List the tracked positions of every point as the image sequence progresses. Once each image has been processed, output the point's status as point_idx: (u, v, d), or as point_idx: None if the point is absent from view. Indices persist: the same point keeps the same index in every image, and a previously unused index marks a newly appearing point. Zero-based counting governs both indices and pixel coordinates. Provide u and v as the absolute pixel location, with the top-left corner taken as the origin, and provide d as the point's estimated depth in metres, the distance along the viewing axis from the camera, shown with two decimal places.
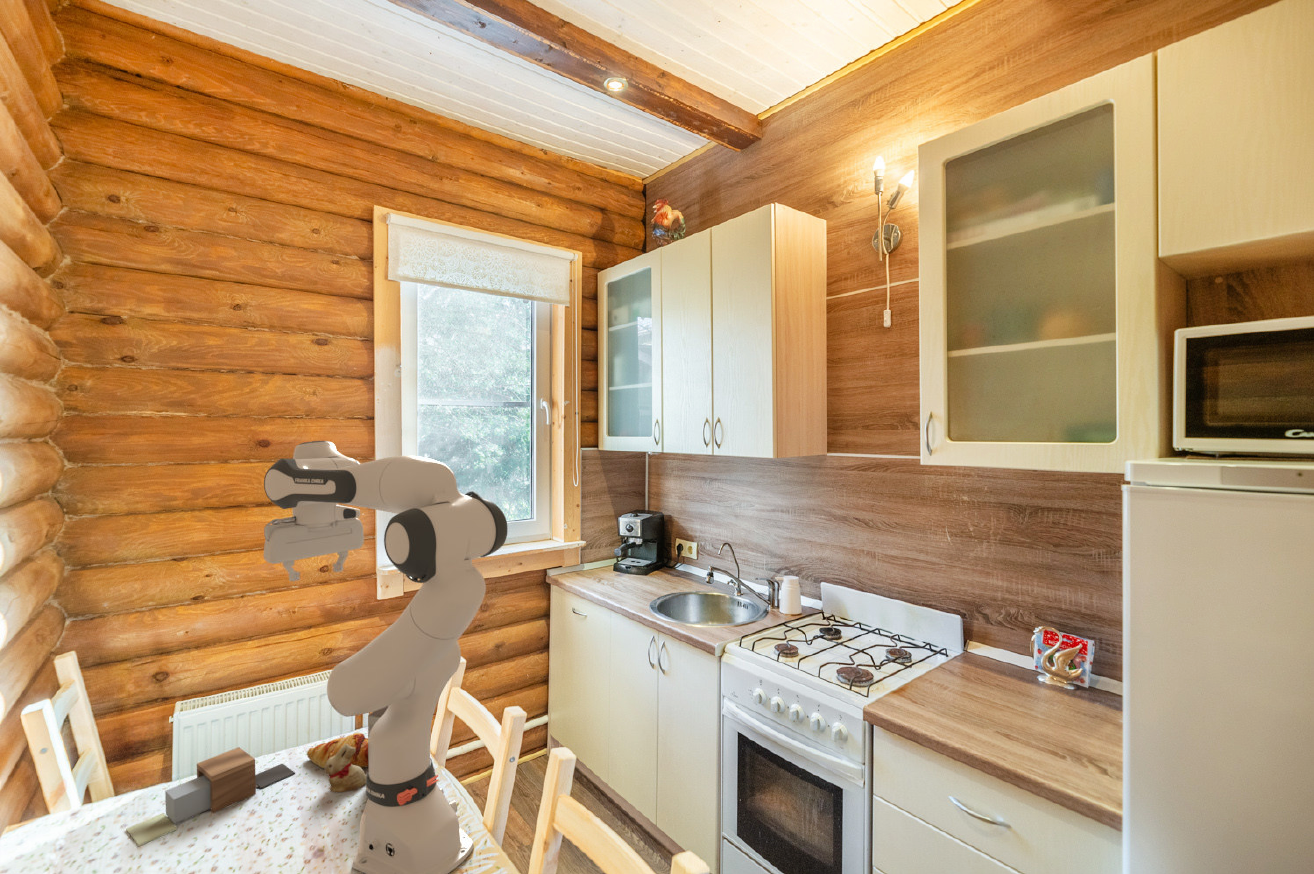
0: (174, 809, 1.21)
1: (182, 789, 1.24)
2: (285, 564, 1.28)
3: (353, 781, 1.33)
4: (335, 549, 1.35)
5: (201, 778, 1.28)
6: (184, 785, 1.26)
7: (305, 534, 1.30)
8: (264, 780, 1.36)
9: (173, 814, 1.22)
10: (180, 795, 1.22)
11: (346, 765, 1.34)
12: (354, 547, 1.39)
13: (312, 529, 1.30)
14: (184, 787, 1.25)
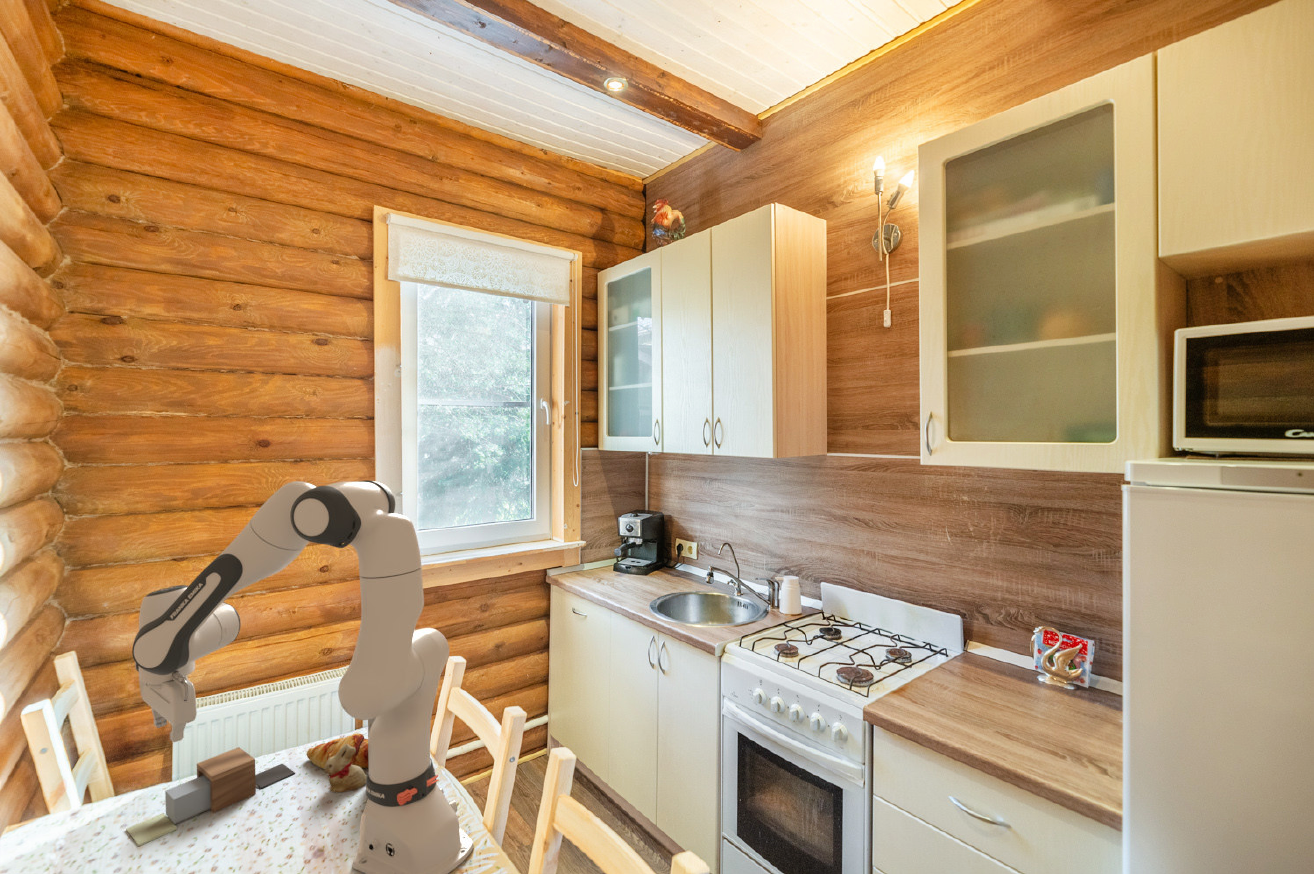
0: (174, 809, 1.21)
1: (182, 789, 1.24)
2: None
3: (353, 781, 1.33)
4: None
5: (201, 778, 1.28)
6: (184, 785, 1.26)
7: None
8: (264, 780, 1.36)
9: (173, 814, 1.22)
10: (180, 795, 1.22)
11: (346, 765, 1.34)
12: None
13: (186, 678, 1.23)
14: (184, 787, 1.25)
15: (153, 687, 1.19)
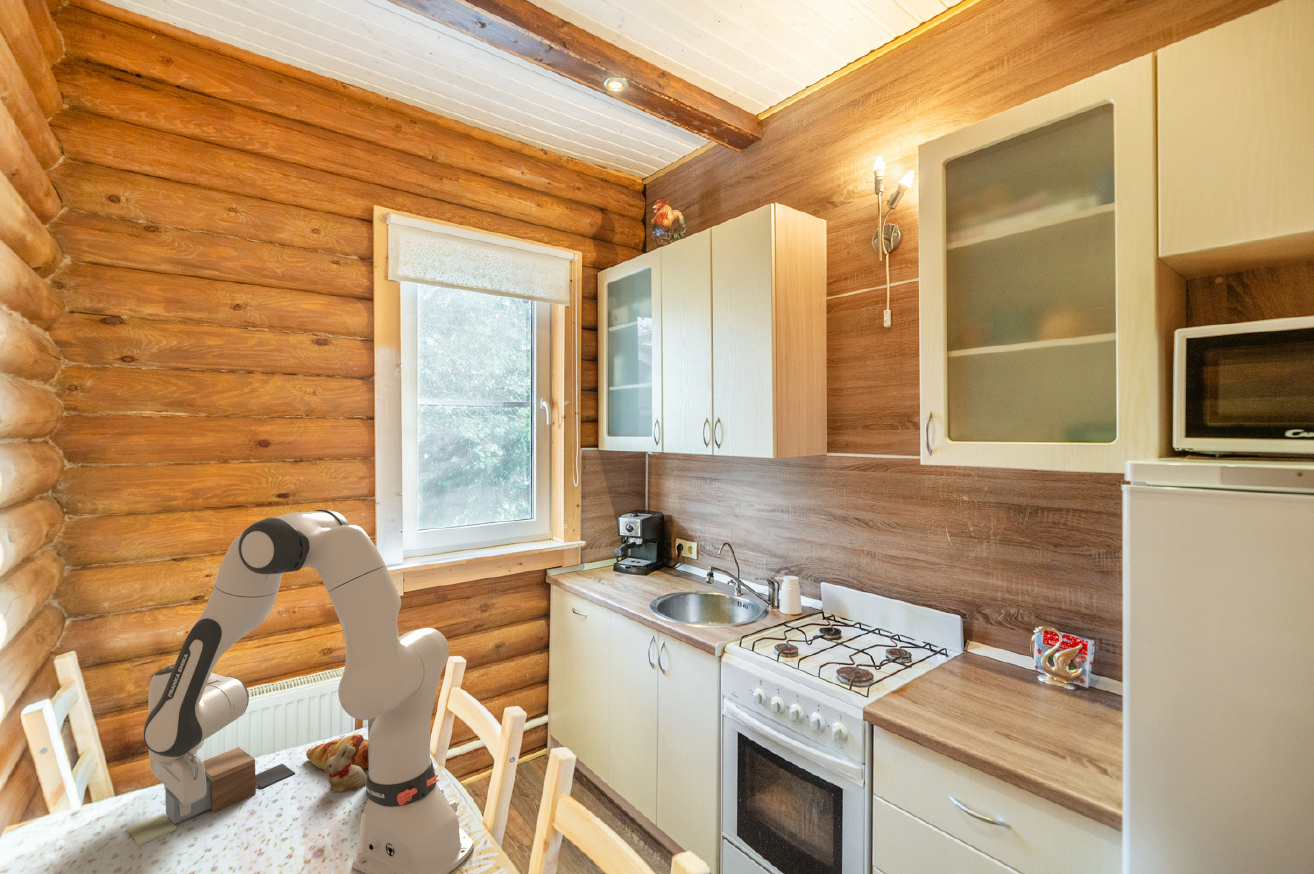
0: (174, 809, 1.21)
1: None
2: None
3: (353, 781, 1.33)
4: None
5: None
6: None
7: None
8: (264, 780, 1.36)
9: (173, 814, 1.22)
10: None
11: (346, 765, 1.34)
12: None
13: (195, 753, 1.25)
14: None
15: (163, 765, 1.21)
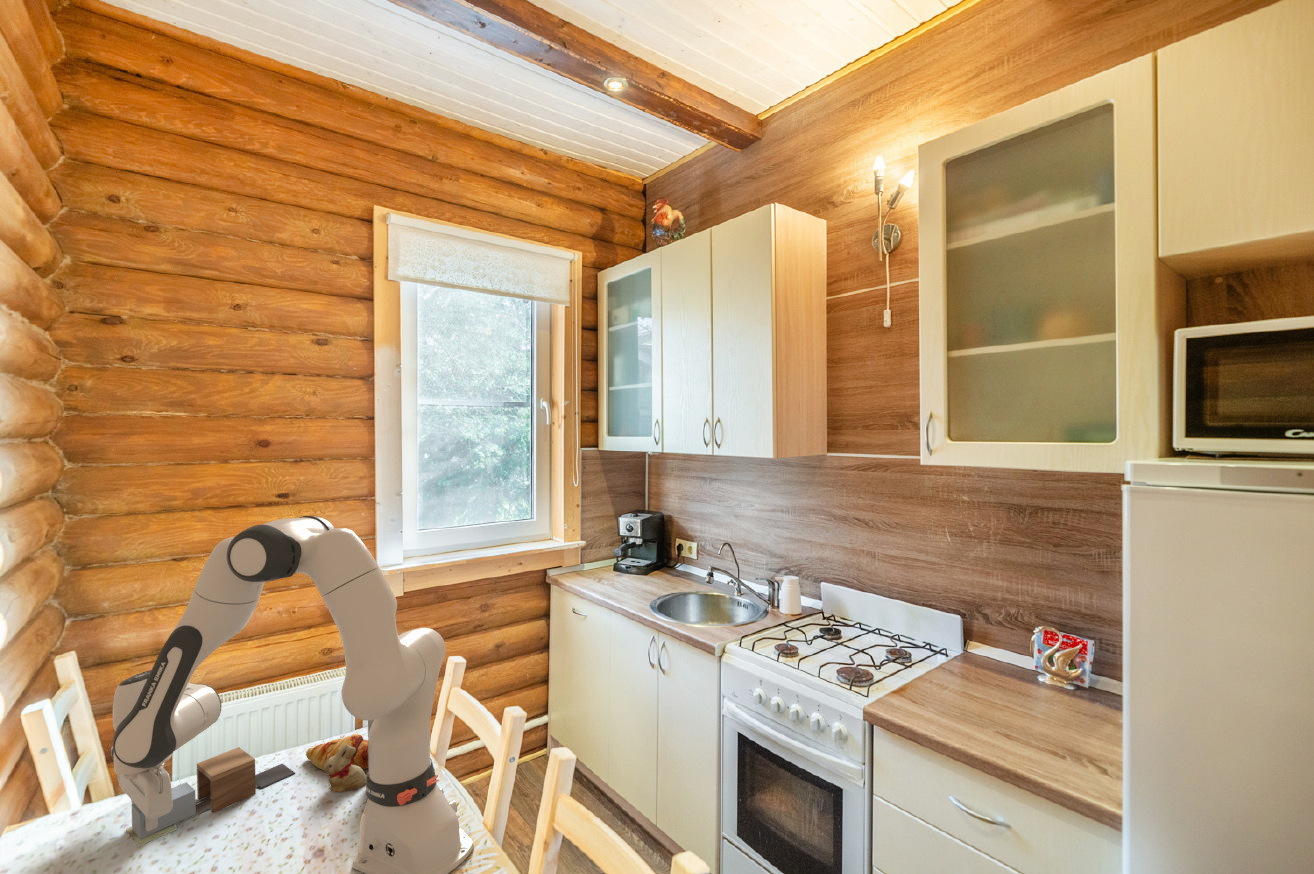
0: (140, 824, 1.17)
1: None
2: None
3: (353, 781, 1.33)
4: None
5: None
6: None
7: None
8: (264, 780, 1.36)
9: (139, 829, 1.17)
10: None
11: (346, 765, 1.34)
12: None
13: (162, 765, 1.20)
14: None
15: (128, 778, 1.16)
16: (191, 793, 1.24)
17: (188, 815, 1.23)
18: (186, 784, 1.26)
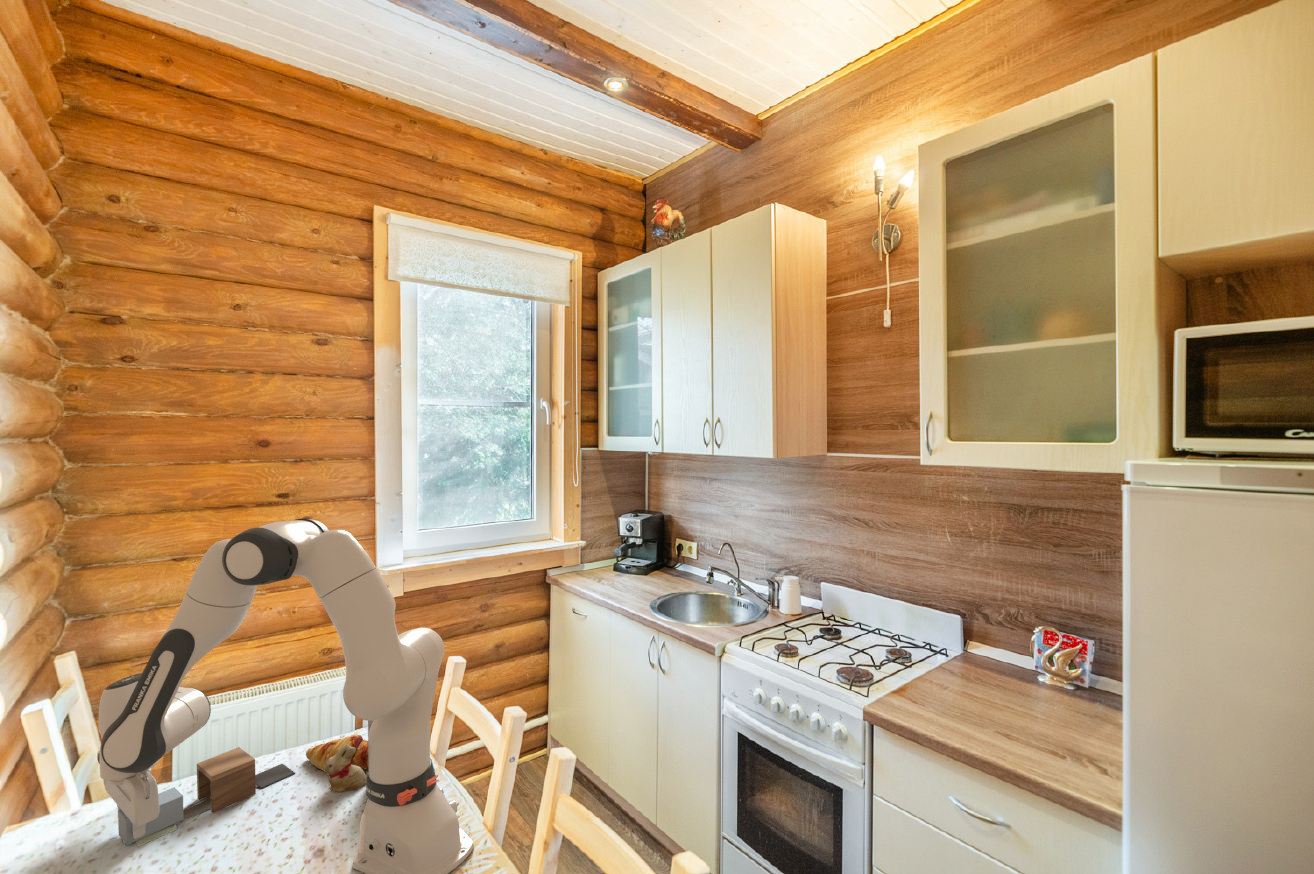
0: (126, 830, 1.15)
1: None
2: None
3: (353, 781, 1.33)
4: None
5: None
6: None
7: None
8: (264, 780, 1.36)
9: (125, 835, 1.16)
10: None
11: (346, 766, 1.34)
12: None
13: (149, 770, 1.19)
14: None
15: (114, 783, 1.15)
16: (179, 798, 1.22)
17: (176, 820, 1.22)
18: (174, 789, 1.25)
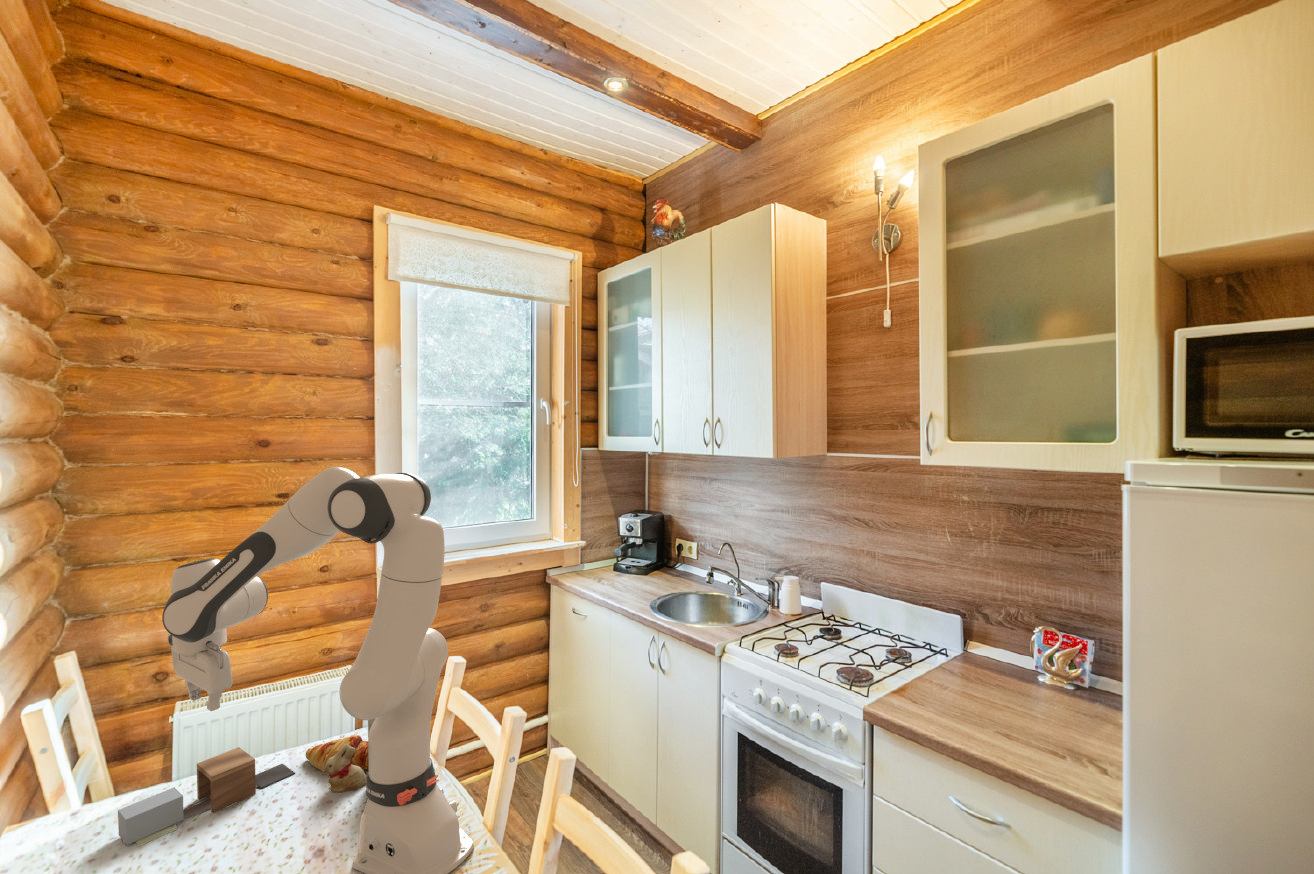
0: (126, 830, 1.15)
1: (136, 808, 1.18)
2: None
3: (353, 781, 1.33)
4: None
5: (157, 796, 1.22)
6: (138, 804, 1.20)
7: None
8: (264, 780, 1.36)
9: (125, 835, 1.16)
10: (133, 815, 1.16)
11: (346, 766, 1.34)
12: None
13: None
14: (138, 806, 1.19)
15: (188, 658, 1.21)
16: (179, 798, 1.22)
17: (176, 820, 1.22)
18: (174, 789, 1.25)
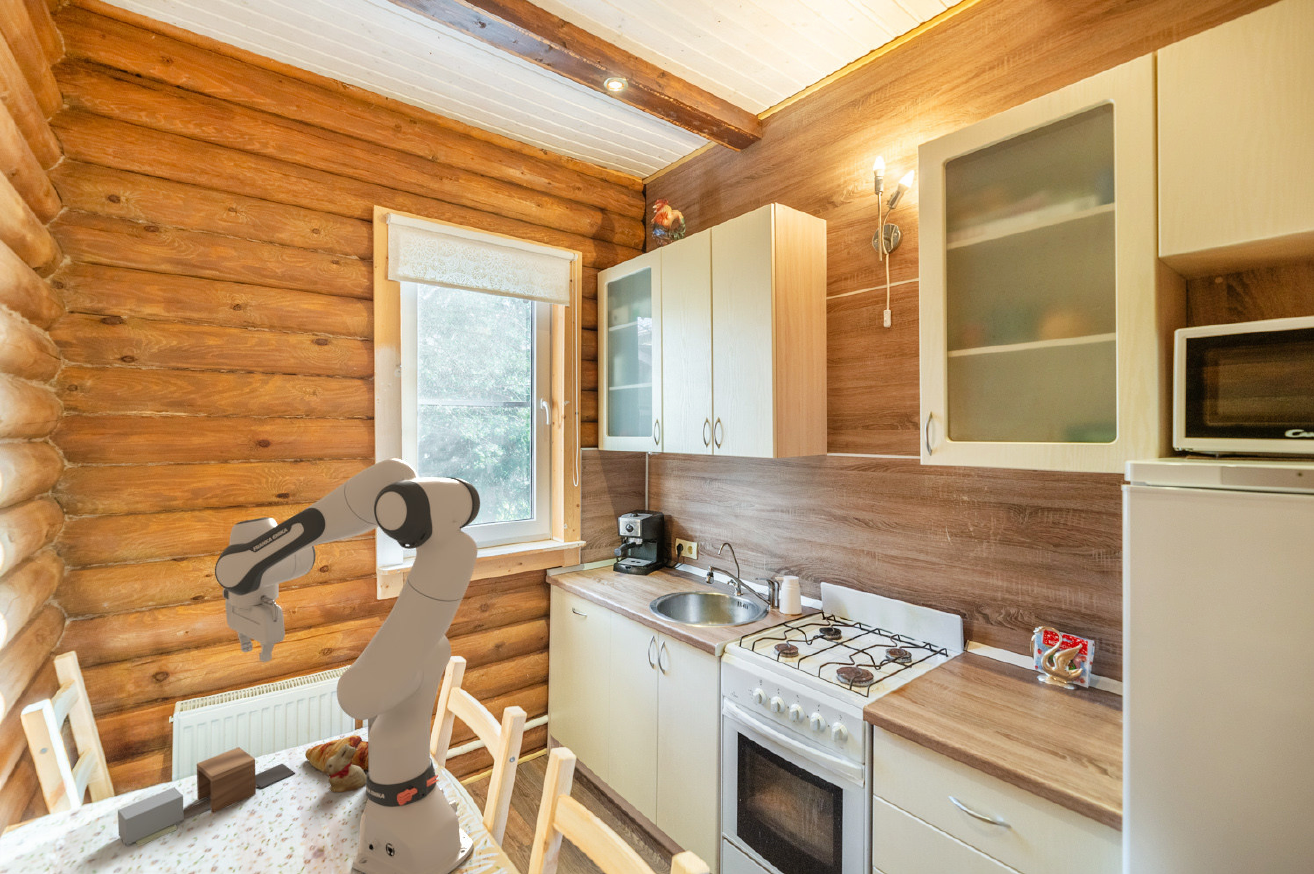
0: (126, 830, 1.15)
1: (136, 808, 1.18)
2: (270, 643, 1.26)
3: (353, 781, 1.33)
4: None
5: (157, 796, 1.22)
6: (138, 804, 1.20)
7: None
8: (264, 780, 1.36)
9: (125, 835, 1.16)
10: (133, 815, 1.16)
11: (346, 765, 1.34)
12: None
13: None
14: (138, 806, 1.19)
15: (243, 611, 1.27)
16: (179, 798, 1.22)
17: (176, 820, 1.22)
18: (174, 789, 1.25)
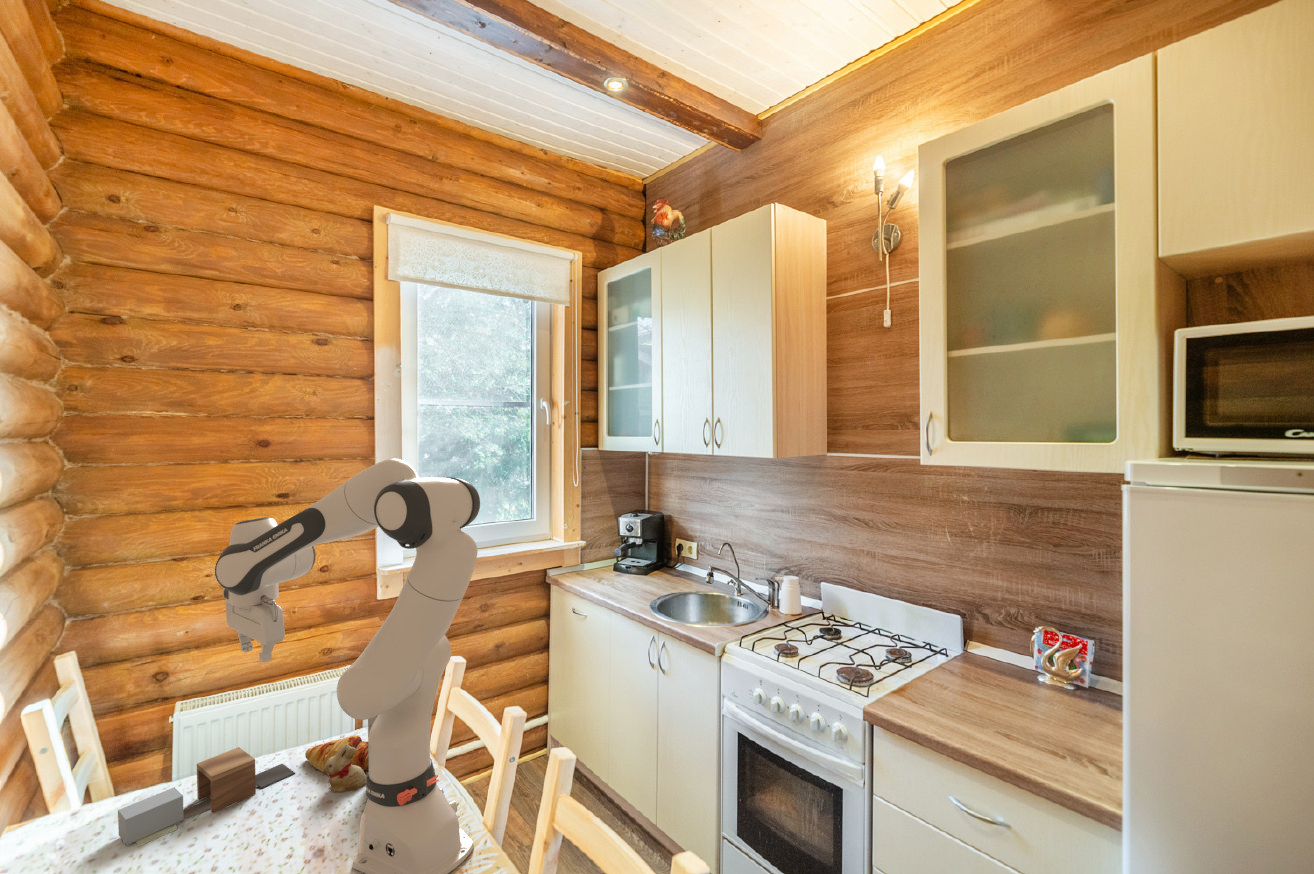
0: (126, 830, 1.15)
1: (136, 808, 1.18)
2: (270, 643, 1.26)
3: (353, 781, 1.33)
4: None
5: (157, 796, 1.22)
6: (138, 804, 1.20)
7: None
8: (264, 780, 1.36)
9: (125, 835, 1.16)
10: (133, 815, 1.16)
11: (346, 765, 1.34)
12: None
13: None
14: (138, 806, 1.19)
15: (243, 611, 1.27)
16: (179, 798, 1.22)
17: (176, 820, 1.22)
18: (174, 789, 1.25)
